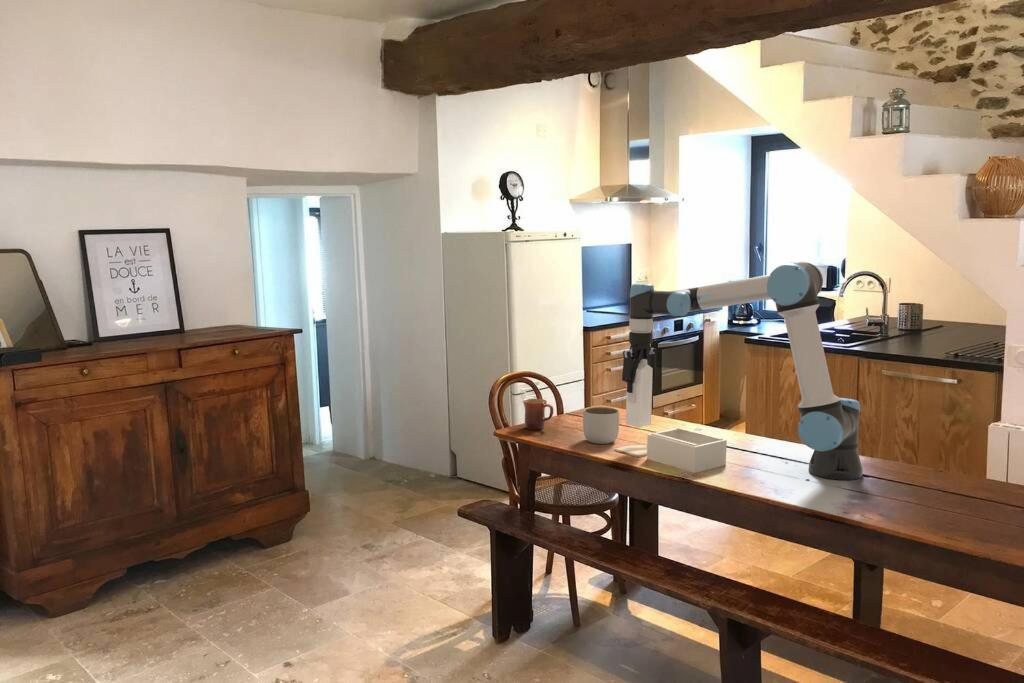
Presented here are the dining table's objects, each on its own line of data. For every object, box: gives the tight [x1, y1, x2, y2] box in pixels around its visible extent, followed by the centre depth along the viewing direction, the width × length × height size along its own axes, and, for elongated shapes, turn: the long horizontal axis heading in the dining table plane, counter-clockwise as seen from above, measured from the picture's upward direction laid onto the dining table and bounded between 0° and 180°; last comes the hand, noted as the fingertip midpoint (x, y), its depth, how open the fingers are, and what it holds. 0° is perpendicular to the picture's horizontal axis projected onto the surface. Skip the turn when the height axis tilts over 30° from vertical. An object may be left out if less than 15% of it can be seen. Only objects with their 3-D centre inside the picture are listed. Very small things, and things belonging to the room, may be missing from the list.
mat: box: [614, 443, 647, 459], centre depth 274 cm, size 11×11×1 cm
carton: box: [646, 427, 728, 474], centre depth 261 cm, size 20×15×8 cm
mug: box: [522, 398, 554, 431], centre depth 304 cm, size 12×9×10 cm
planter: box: [582, 406, 620, 445], centre depth 286 cm, size 12×12×11 cm
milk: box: [625, 359, 653, 428], centre depth 271 cm, size 6×6×22 cm
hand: (639, 400), depth 272 cm, fingers closed on milk, 6 cm apart
